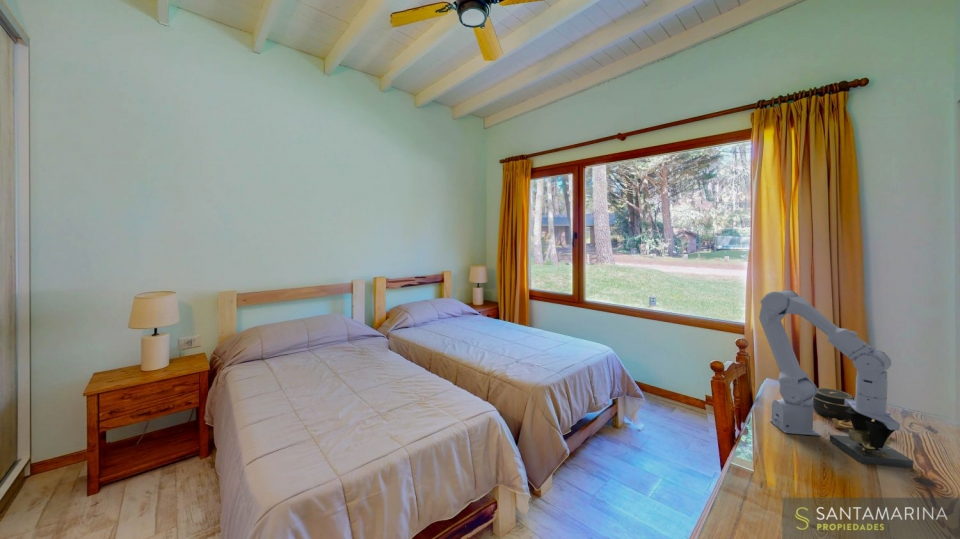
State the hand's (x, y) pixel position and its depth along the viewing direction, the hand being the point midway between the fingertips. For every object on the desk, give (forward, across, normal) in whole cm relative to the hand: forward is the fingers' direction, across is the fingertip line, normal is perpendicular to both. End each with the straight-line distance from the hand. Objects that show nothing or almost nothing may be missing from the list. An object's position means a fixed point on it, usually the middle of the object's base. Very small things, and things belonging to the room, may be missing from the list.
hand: (868, 442), depth 96 cm
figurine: (+2, +13, -13) cm, 19 cm away
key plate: (+3, 0, 0) cm, 3 cm away
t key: (+3, 0, 0) cm, 3 cm away
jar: (+3, +25, -8) cm, 26 cm away
